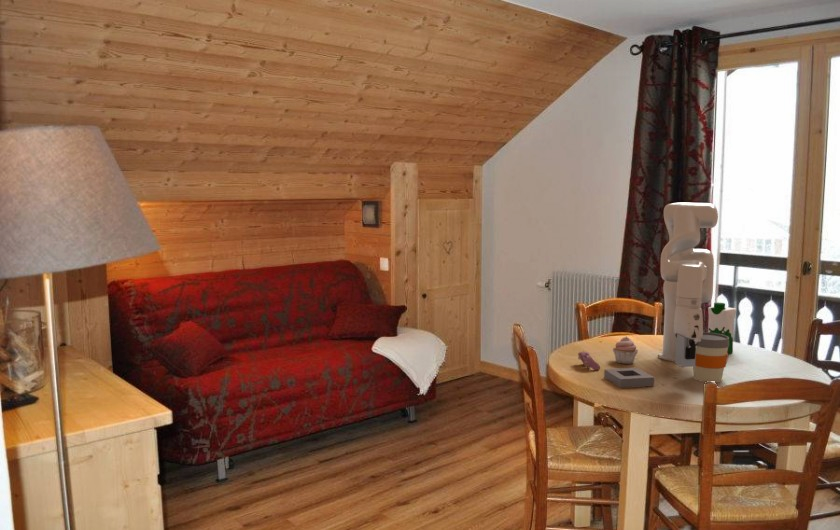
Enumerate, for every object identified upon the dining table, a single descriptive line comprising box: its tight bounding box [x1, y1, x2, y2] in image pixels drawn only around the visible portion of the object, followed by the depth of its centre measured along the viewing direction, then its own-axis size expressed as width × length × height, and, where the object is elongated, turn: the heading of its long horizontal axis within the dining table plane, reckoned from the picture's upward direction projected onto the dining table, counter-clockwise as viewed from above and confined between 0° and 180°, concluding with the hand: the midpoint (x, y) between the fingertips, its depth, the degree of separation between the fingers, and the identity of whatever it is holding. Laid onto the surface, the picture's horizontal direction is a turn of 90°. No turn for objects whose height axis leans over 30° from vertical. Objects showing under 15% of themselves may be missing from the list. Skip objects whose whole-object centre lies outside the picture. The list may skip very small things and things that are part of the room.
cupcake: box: [612, 336, 639, 365], centre depth 257 cm, size 9×9×10 cm
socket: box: [603, 367, 655, 389], centre depth 232 cm, size 12×12×3 cm
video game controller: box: [577, 350, 601, 371], centre depth 250 cm, size 10×5×7 cm, turn 5°
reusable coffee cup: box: [692, 331, 729, 383], centre depth 236 cm, size 13×13×15 cm
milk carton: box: [707, 302, 737, 354], centre depth 272 cm, size 9×9×20 cm
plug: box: [675, 334, 696, 368], centre depth 223 cm, size 4×4×10 cm
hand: (685, 356), depth 223 cm, fingers closed on plug, 4 cm apart
